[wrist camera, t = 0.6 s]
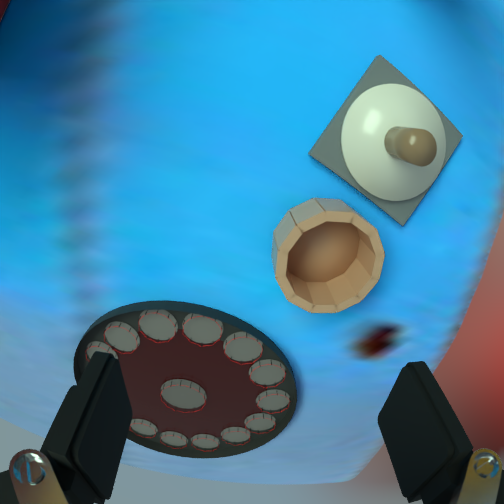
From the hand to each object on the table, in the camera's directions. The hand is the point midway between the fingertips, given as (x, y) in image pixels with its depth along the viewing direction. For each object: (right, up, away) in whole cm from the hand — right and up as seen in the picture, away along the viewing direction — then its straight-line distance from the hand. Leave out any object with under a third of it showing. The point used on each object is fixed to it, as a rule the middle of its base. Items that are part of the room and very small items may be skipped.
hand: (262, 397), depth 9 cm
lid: (+15, +17, +21) cm, 31 cm away
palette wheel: (-11, -17, +37) cm, 42 cm away
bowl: (+7, +6, +27) cm, 28 cm away
